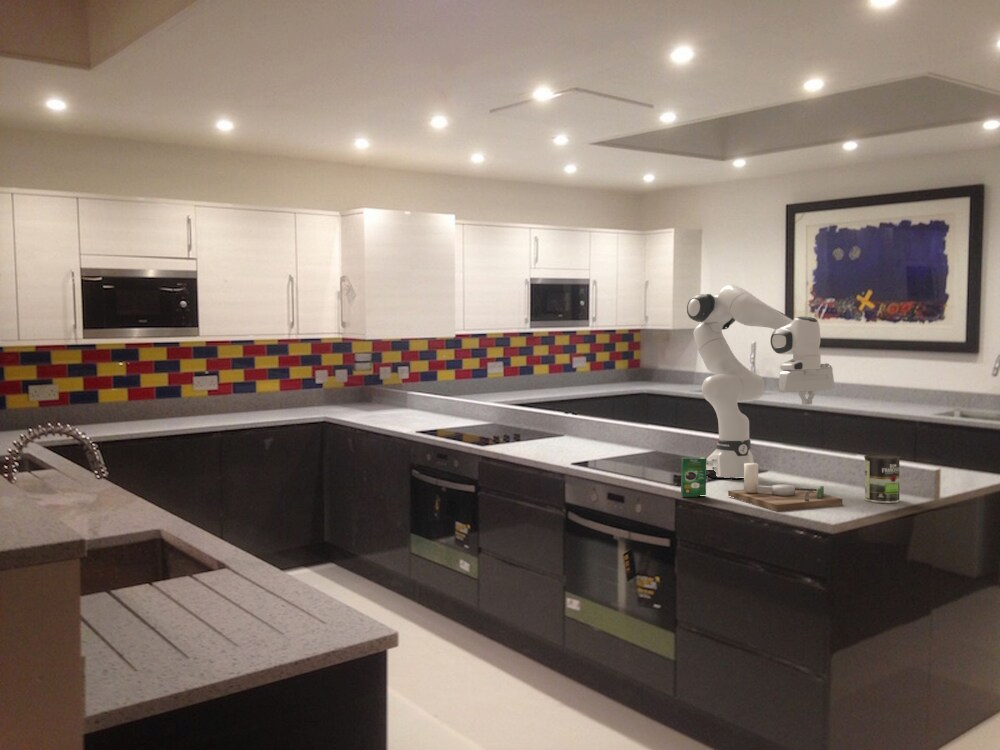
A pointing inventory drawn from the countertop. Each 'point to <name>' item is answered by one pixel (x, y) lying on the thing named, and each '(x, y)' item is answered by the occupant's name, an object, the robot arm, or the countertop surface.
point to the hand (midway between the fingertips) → (807, 404)
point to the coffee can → (882, 478)
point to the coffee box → (693, 477)
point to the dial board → (788, 499)
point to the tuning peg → (778, 489)
